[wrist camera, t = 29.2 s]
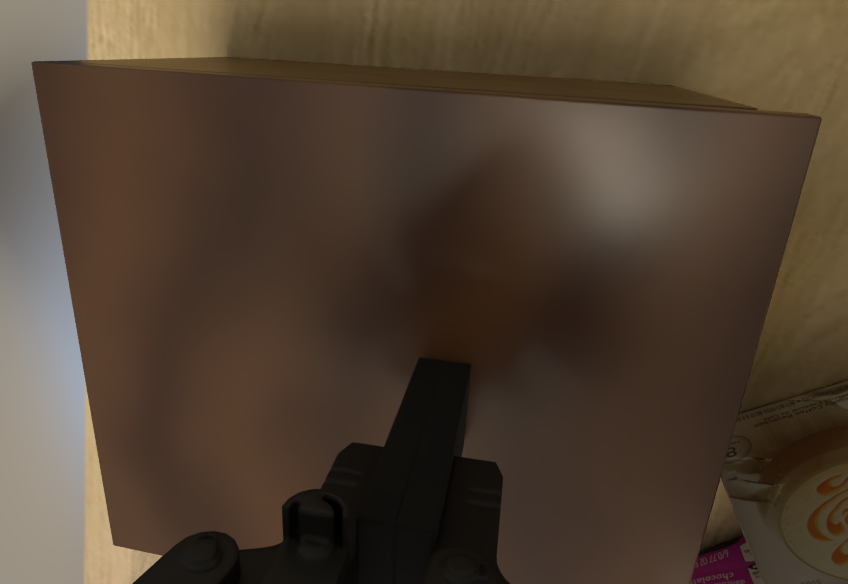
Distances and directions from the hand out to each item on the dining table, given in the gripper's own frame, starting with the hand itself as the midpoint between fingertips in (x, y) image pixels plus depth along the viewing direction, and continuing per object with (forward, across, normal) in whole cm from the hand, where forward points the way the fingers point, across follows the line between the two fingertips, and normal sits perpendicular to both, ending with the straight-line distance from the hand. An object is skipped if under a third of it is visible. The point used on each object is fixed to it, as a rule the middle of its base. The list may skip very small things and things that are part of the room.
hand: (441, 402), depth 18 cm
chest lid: (+1, -2, 0) cm, 2 cm away
